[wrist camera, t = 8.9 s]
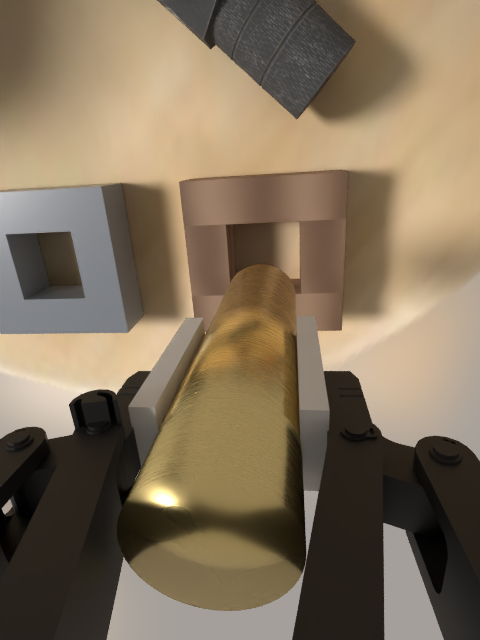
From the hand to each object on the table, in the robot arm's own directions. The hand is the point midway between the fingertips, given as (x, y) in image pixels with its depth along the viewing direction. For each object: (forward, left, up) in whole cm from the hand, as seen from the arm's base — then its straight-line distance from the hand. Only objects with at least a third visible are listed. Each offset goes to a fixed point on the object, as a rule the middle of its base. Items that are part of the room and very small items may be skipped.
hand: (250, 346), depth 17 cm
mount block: (-18, 0, -19) cm, 26 cm away
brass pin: (0, 0, -7) cm, 7 cm away
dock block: (0, 0, -19) cm, 19 cm away
